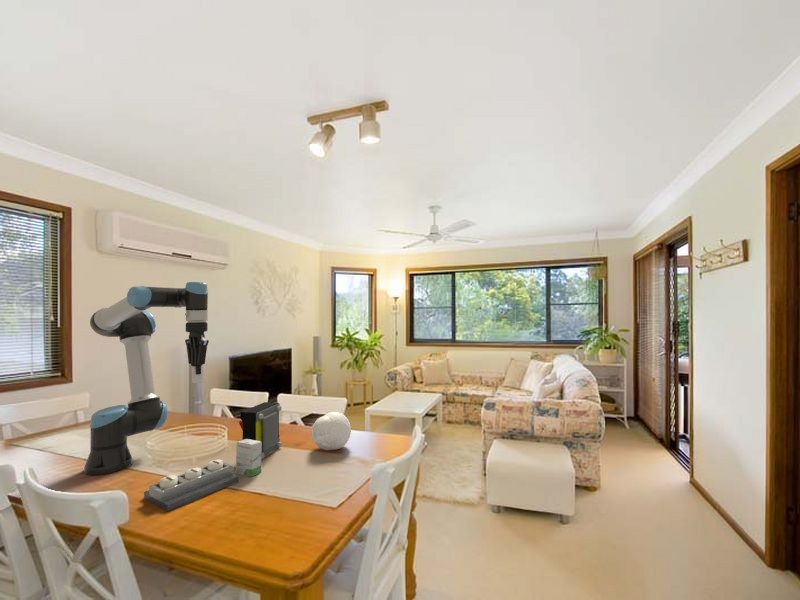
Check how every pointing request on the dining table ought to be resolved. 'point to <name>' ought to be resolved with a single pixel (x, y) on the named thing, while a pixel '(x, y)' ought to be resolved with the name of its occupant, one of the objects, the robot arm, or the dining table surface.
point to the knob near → (168, 482)
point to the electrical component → (262, 425)
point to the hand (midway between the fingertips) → (196, 382)
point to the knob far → (215, 465)
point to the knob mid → (192, 473)
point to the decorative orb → (331, 431)
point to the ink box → (248, 457)
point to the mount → (191, 488)
